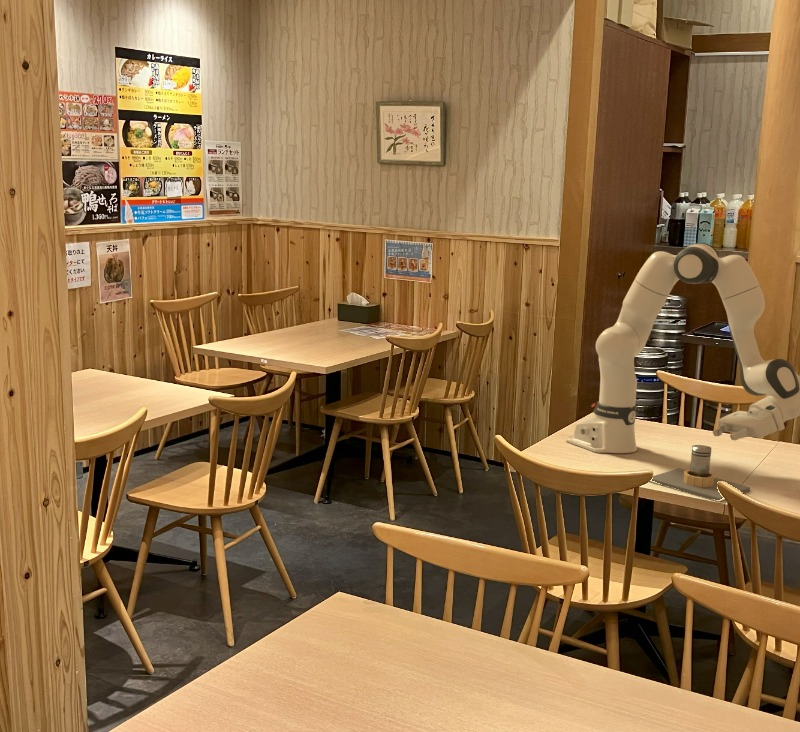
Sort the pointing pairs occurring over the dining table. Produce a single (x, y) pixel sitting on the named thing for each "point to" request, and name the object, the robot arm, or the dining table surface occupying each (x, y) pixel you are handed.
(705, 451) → the piston
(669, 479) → the collar plate
